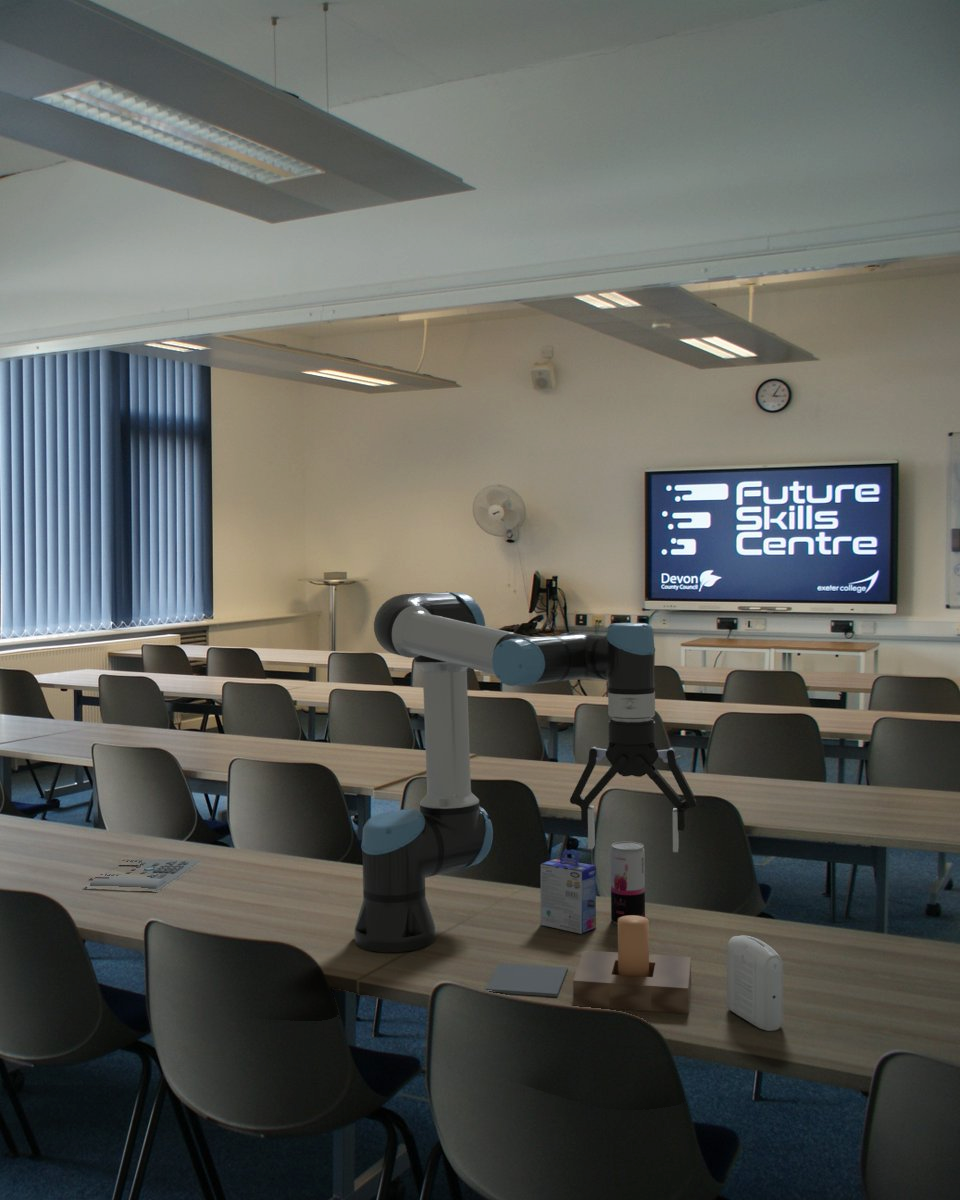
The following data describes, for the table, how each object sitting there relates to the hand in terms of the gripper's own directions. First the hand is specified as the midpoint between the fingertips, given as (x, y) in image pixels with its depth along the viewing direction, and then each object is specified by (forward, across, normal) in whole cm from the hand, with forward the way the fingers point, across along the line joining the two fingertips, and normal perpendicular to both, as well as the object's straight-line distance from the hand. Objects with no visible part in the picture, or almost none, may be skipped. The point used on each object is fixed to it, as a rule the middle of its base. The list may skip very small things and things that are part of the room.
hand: (633, 848), depth 184 cm
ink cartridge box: (+24, -15, +31) cm, 42 cm away
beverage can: (+24, -4, +36) cm, 43 cm away
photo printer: (+24, +19, -7) cm, 31 cm away
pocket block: (+24, 0, 0) cm, 24 cm away
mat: (+24, -18, +2) cm, 30 cm away
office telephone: (+24, -116, +49) cm, 128 cm away
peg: (+24, 0, 0) cm, 24 cm away
